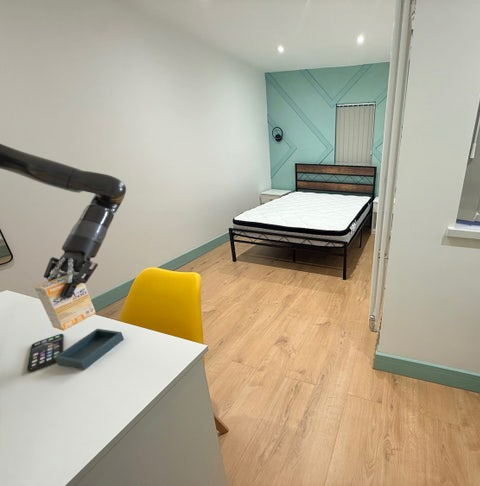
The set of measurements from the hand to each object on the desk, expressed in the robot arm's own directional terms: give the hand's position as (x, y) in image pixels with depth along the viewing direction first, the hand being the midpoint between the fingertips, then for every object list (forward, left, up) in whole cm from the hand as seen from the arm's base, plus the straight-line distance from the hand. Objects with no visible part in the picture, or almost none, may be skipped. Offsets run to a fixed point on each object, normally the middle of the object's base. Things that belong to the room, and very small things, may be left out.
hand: (55, 296), depth 69 cm
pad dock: (-1, +3, -22) cm, 23 cm away
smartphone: (-15, 0, -22) cm, 27 cm away
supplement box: (0, +2, -9) cm, 10 cm away
